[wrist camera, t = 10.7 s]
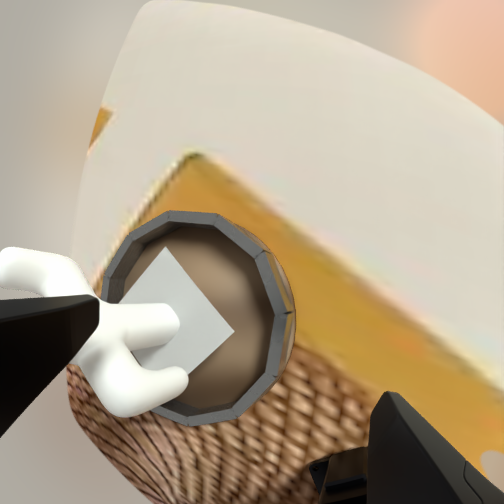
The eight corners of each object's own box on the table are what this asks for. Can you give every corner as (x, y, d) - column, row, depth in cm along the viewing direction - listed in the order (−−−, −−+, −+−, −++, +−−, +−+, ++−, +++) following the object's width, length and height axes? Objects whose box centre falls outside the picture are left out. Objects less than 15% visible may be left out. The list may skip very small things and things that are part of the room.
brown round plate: (327, 386, 20) (326, 389, 19) (153, 424, 24) (148, 427, 23) (250, 183, 23) (246, 180, 23) (104, 262, 28) (98, 261, 27)
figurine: (199, 394, 22) (37, 470, 8) (132, 304, 25) (-32, 301, 11) (264, 337, 21) (102, 403, 7) (184, 243, 24) (10, 191, 10)
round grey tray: (322, 388, 19) (319, 397, 17) (149, 425, 23) (135, 432, 21) (245, 183, 23) (235, 174, 21) (100, 263, 27) (84, 260, 25)
